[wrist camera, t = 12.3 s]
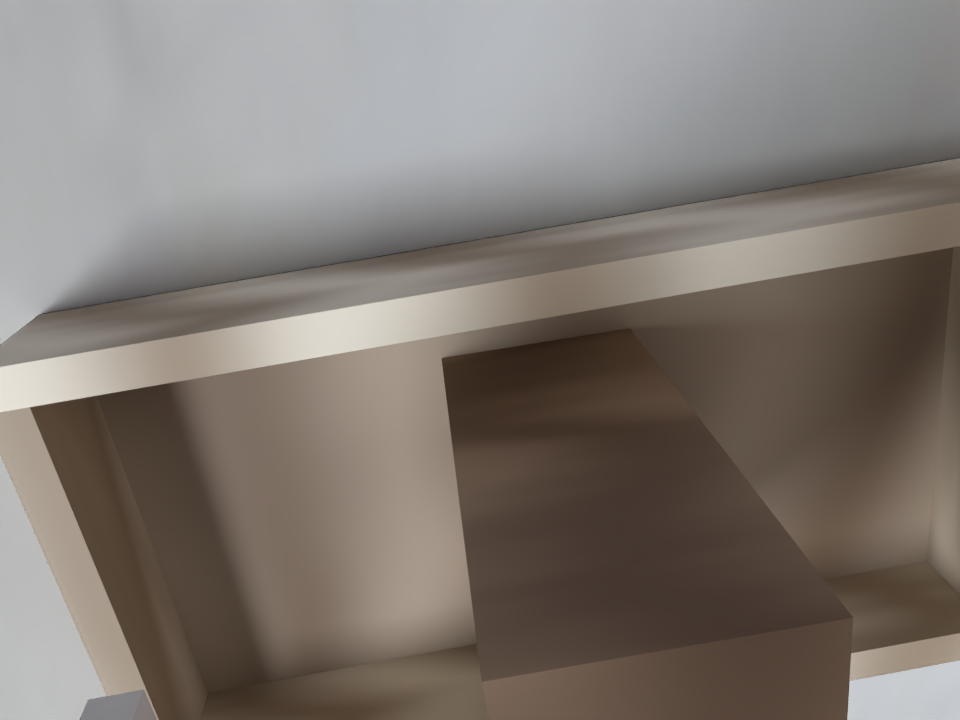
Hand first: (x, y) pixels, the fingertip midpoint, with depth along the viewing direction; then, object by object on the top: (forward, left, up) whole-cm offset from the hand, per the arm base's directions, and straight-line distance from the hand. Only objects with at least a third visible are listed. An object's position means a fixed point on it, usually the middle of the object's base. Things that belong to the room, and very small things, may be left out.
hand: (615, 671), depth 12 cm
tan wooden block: (0, 0, -7) cm, 7 cm away
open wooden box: (0, 0, -7) cm, 7 cm away
